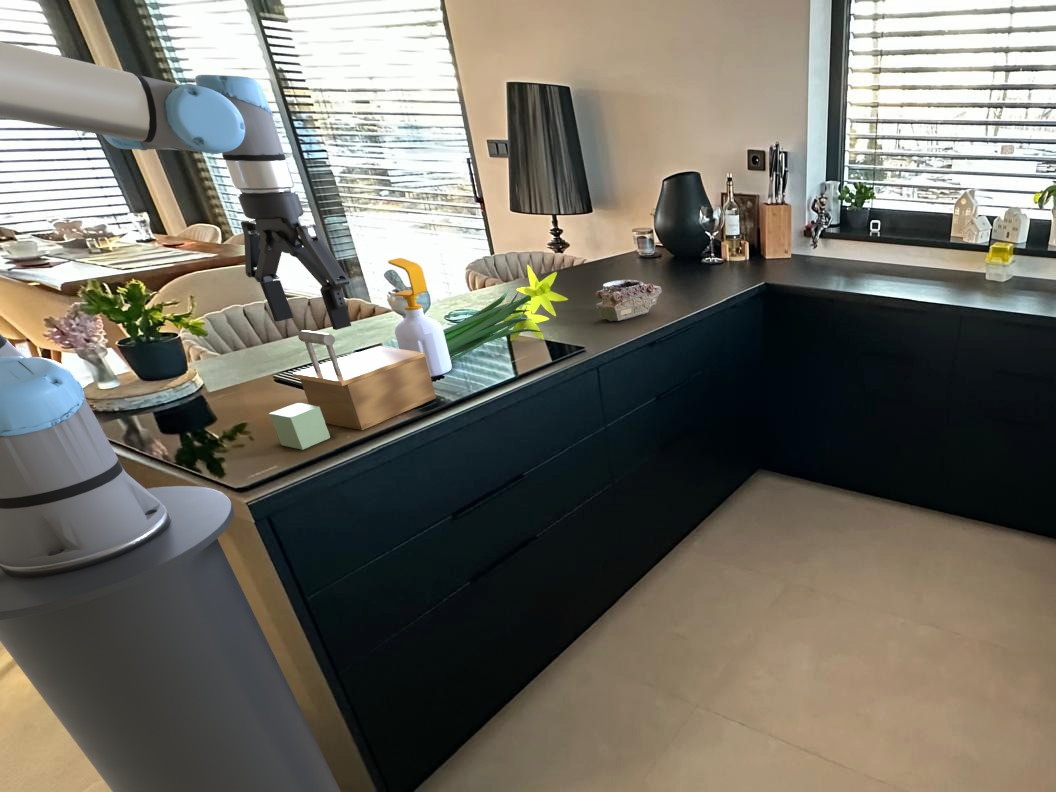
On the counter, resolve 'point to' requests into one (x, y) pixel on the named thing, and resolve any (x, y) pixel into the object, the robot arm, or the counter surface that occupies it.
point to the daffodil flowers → (503, 317)
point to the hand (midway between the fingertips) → (312, 323)
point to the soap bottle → (420, 323)
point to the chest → (372, 395)
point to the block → (299, 425)
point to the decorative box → (626, 299)
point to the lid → (350, 361)
